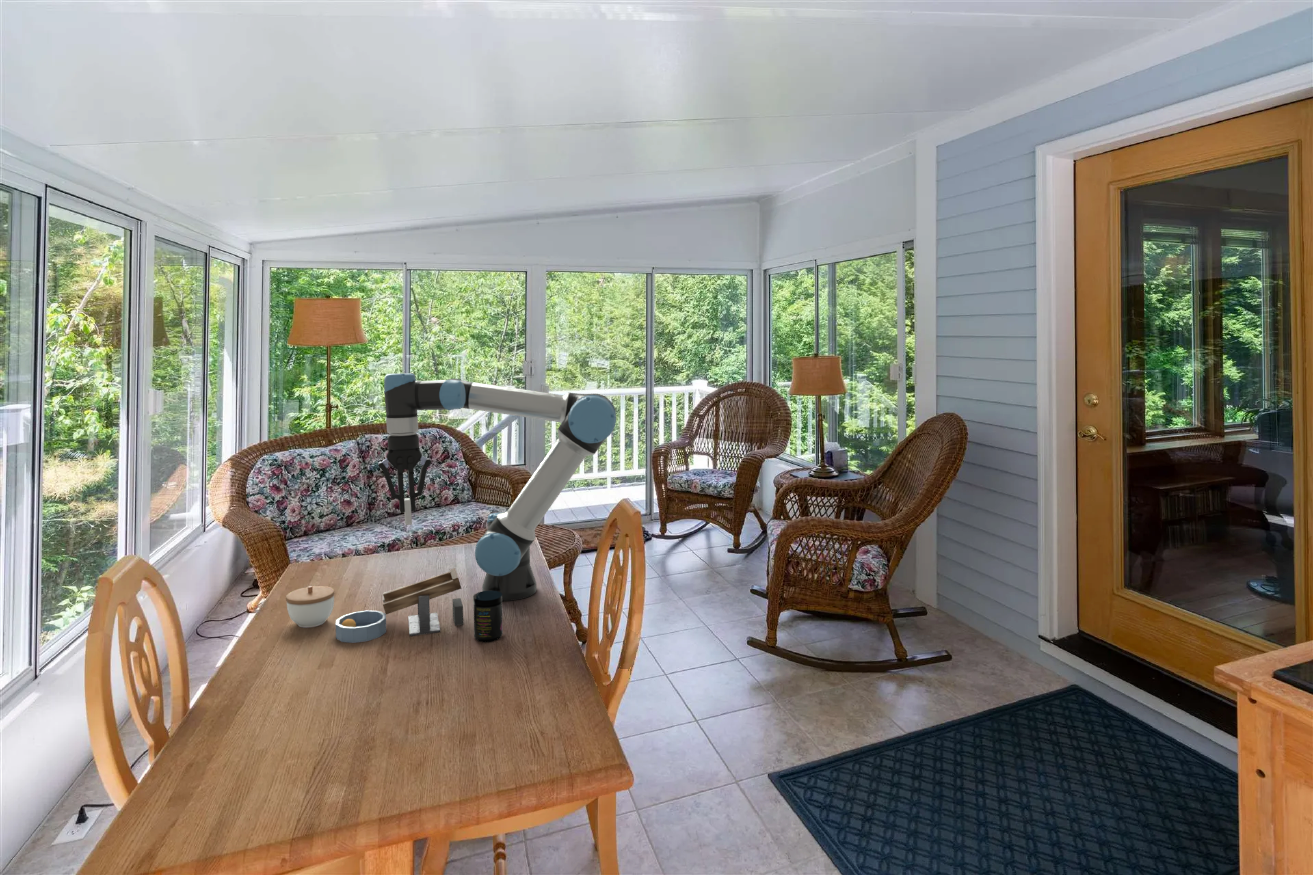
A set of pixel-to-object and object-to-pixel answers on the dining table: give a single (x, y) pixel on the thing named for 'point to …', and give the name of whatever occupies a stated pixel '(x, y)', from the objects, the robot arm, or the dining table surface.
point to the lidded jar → (310, 605)
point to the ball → (349, 623)
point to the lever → (420, 591)
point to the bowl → (361, 626)
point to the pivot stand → (423, 619)
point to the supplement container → (488, 616)
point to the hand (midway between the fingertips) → (408, 523)
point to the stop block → (458, 611)
